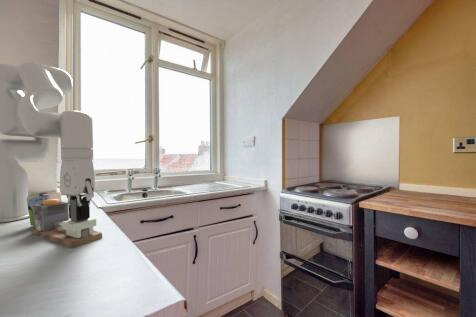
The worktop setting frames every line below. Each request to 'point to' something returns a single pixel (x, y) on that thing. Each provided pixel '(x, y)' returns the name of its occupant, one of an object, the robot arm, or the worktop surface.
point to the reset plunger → (50, 202)
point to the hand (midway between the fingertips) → (79, 217)
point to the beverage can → (33, 200)
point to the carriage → (77, 222)
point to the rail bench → (66, 238)
